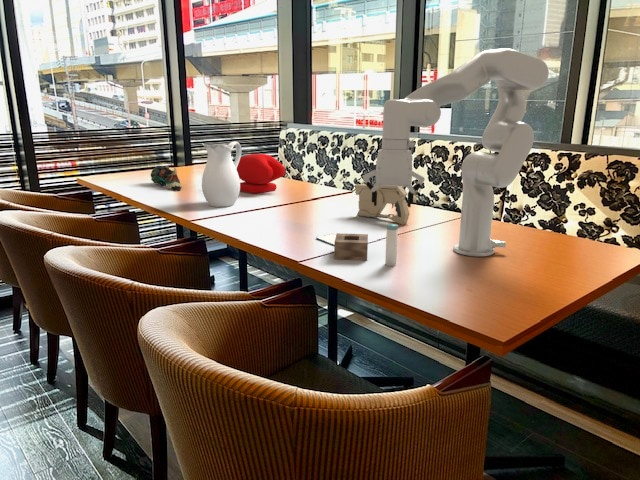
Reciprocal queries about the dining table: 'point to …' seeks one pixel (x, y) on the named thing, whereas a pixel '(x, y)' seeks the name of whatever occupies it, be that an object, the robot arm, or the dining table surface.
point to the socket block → (351, 246)
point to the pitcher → (221, 175)
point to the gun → (383, 202)
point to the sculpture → (166, 177)
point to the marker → (391, 244)
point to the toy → (259, 172)
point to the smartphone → (328, 239)
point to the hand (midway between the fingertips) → (391, 205)
